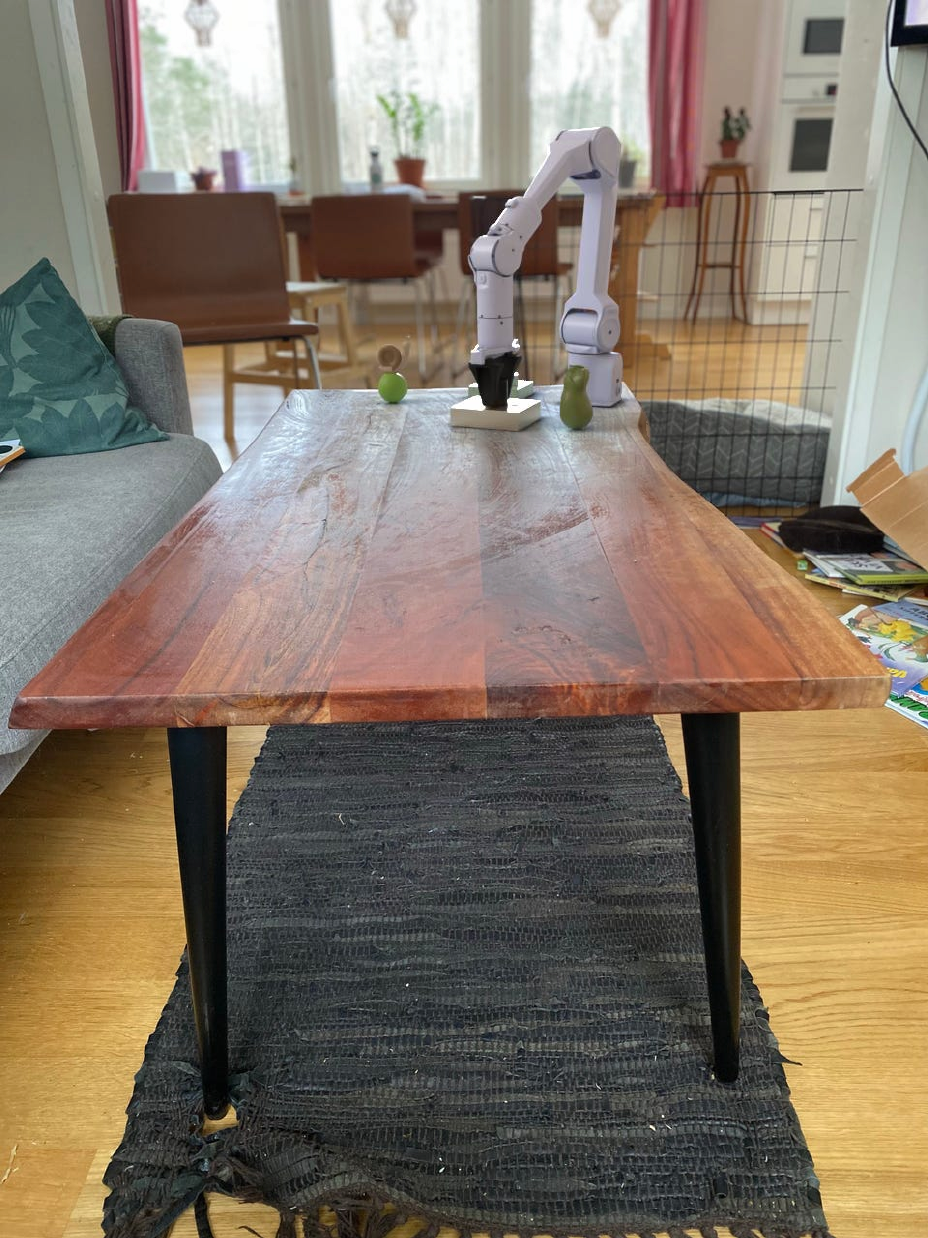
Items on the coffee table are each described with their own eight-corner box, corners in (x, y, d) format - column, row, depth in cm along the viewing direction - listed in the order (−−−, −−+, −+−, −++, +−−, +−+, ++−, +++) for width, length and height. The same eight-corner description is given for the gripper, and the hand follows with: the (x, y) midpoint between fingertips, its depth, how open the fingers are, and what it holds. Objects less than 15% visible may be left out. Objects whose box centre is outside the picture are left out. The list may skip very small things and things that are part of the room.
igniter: (533, 393, 178) (533, 371, 176) (517, 401, 171) (517, 379, 169) (485, 390, 182) (485, 369, 180) (468, 397, 175) (467, 376, 173)
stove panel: (540, 418, 158) (540, 399, 156) (518, 431, 149) (518, 411, 148) (475, 413, 162) (475, 395, 161) (450, 425, 154) (450, 406, 153)
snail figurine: (409, 405, 170) (405, 337, 165) (375, 404, 171) (371, 337, 166) (416, 399, 175) (413, 333, 170) (383, 399, 176) (379, 332, 171)
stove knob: (489, 400, 157) (489, 374, 155) (511, 402, 156) (511, 375, 154) (479, 405, 154) (479, 378, 152) (502, 406, 152) (501, 379, 150)
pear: (563, 423, 154) (564, 361, 149) (595, 425, 152) (597, 362, 148) (555, 431, 149) (557, 367, 145) (588, 432, 147) (590, 368, 143)
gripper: (499, 322, 141) (500, 412, 147) (535, 312, 153) (534, 395, 159) (458, 321, 144) (460, 409, 150) (496, 310, 156) (496, 393, 162)
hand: (495, 402), depth 155 cm, fingers open, 5 cm apart
